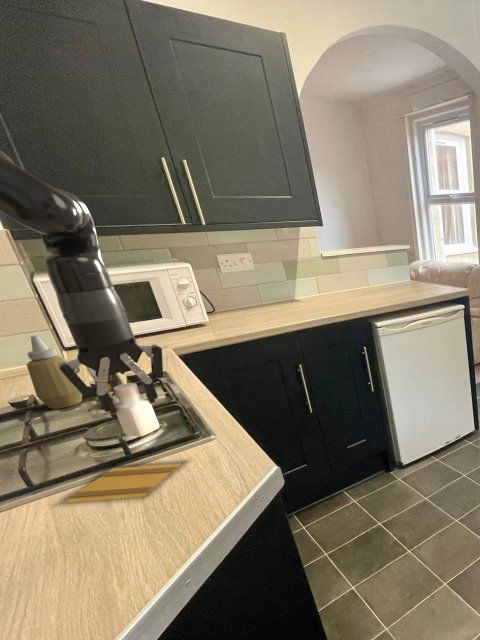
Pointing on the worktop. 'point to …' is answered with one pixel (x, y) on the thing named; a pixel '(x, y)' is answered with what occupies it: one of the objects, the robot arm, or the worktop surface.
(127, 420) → the pepper shaker
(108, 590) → the worktop surface
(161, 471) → the towel
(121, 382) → the beer glass
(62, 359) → the squeeze bottle
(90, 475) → the worktop surface
